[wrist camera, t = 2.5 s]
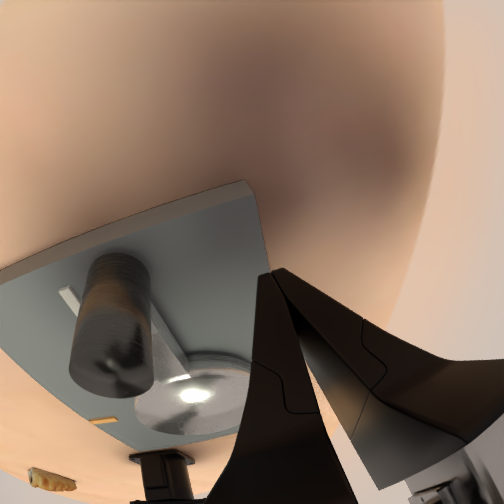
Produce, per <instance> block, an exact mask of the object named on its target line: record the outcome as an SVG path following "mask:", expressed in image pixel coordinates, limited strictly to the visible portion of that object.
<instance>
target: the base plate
mask: <svg viewBox="0 0 504 504" xmlns="http://www.w3.org/2000/svg"><path fill="white" fill-rule="evenodd" d="M108 253H124V254H128V255H131V256H133V257H135V258H137V259H138V260H139V261H141V262H142V263H143V264H144V265H145V266H146V268H147V269H148V271H149V274H150V278H151V301H152V302H153V304H154V306H155V308H156V309H157V311H158V313H159V314H160V316H161V318H162V319H163V321H164V323H165V324H166V326H167V327H168V329H169V331H170V332H171V334H172V335H173V337H174V339H175V340H176V342H177V343H178V345H179V346H180V348H181V349H182V351H183V352H184V354H185V355H186V356H191V355H204V354H213V355H224V356H230V357H234V358H238V359H241V360H243V361H245V362H247V363H249V364H250V365H251V361H252V360H251V358H252V345H253V332H254V318H255V305H256V291H257V278H258V276H259V275H261V274H264V273H267V272H270V269H269V264H268V259H267V254H266V249H265V244H264V239H263V234H262V229H261V224H260V219H259V214H258V209H257V204H256V199H255V194H254V193H253V191H252V190H251V188H250V187H249V185H248V184H247V182H246V181H245V180H242V181H238V182H235V183H231V184H228V185H224V186H221V187H218V188H214V189H211V190H208V191H204V192H201V193H198V194H195V195H192V196H188V197H185V198H182V199H179V200H176V201H173V202H170V203H167V204H164V205H161V206H158V207H155V208H152V209H149V210H146V211H144V212H141V213H138V214H135V215H132V216H130V217H127V218H124V219H121V220H119V221H116V222H113V223H111V224H108V225H105V226H103V227H100V228H97V229H95V230H92V231H90V232H87V233H85V234H82V235H80V236H77V237H75V238H72V239H70V240H67V241H65V242H63V243H60V244H58V245H55V246H53V247H51V248H48V249H46V250H44V251H42V252H39V253H37V254H35V255H33V256H30V257H28V258H26V259H24V260H21V261H19V262H17V263H15V264H13V265H11V266H9V267H6V268H4V269H2V270H0V348H1V349H2V350H3V351H4V352H5V353H6V354H7V355H8V356H9V357H10V358H11V359H12V360H14V361H15V362H16V363H17V364H18V365H19V366H20V367H21V368H22V369H23V370H24V371H25V372H26V373H27V374H29V375H30V376H31V377H32V378H33V379H34V380H35V381H37V382H38V383H39V384H40V385H41V386H43V387H44V388H45V389H46V390H47V391H49V392H50V393H51V394H52V395H54V396H55V397H56V398H57V399H59V400H60V401H61V402H63V403H64V404H65V405H67V406H68V407H69V408H71V409H72V410H73V411H75V412H76V413H78V414H79V415H80V416H82V417H83V418H85V419H86V420H88V421H89V422H91V423H92V424H94V425H95V426H97V427H98V428H100V429H101V430H103V431H105V432H106V433H108V434H109V435H111V436H113V437H114V438H116V439H118V440H119V441H121V442H123V443H125V444H126V445H128V446H130V447H132V448H133V449H135V450H137V451H139V452H141V451H149V450H156V449H162V448H169V447H174V446H180V445H185V444H191V443H195V442H200V441H205V440H209V439H214V438H218V437H222V436H226V435H230V434H234V433H238V431H239V427H240V425H237V426H235V427H232V428H229V429H226V430H223V431H219V432H215V433H209V434H202V435H173V434H167V433H162V432H158V431H155V430H152V429H150V428H148V427H146V426H145V425H143V424H142V423H141V422H140V421H139V420H138V419H137V417H136V415H135V401H134V397H132V398H123V399H117V398H107V397H102V396H98V395H95V394H93V393H90V392H88V391H86V390H84V389H83V388H81V387H80V386H78V385H77V384H76V383H75V382H74V381H73V379H72V378H71V376H70V374H69V362H70V355H71V349H72V343H73V337H74V332H75V327H76V322H77V317H78V312H79V307H80V303H81V299H82V294H83V290H84V286H85V282H86V278H87V275H88V271H89V268H90V266H91V264H92V263H93V262H94V261H95V260H96V259H97V258H98V257H100V256H102V255H104V254H108Z"/></svg>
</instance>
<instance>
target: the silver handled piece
mask: <svg viewBox="0 0 504 504" xmlns="http://www.w3.org/2000/svg"><path fill="white" fill-rule="evenodd" d="M250 369H251V365H250V364H249V363H247V362H245V361H243V360H241V359H238V358H234V357H230V356H224V355H213V354H204V355H191V356H186V355H185V354H184V352H183V351H182V349H181V348H180V346H179V345H178V343H177V342H176V340H175V339H174V337H173V335H172V334H171V332H170V331H169V329H168V327H167V326H166V324H165V323H164V321H163V319H162V318H161V316H160V314H159V313H158V311H157V309H156V308H155V306H154V304H153V302H152V301H151V278H150V274H149V271H148V269H147V268H146V266H145V265H144V264H143V263H142V262H141V261H139V260H138V259H137V258H135V257H133V256H131V255H128V254H124V253H108V254H104V255H102V256H100V257H98V258H97V259H96V260H95V261H94V262H93V263H92V264H91V266H90V268H89V271H88V275H87V278H86V282H85V286H84V290H83V294H82V299H81V303H80V307H79V312H78V317H77V322H76V327H75V332H74V337H73V343H72V349H71V355H70V362H69V374H70V376H71V378H72V379H73V381H74V382H75V383H76V384H77V385H78V386H80V387H81V388H83V389H84V390H86V391H88V392H90V393H93V394H95V395H98V396H102V397H107V398H117V399H123V398H132V397H134V401H135V415H136V417H137V419H138V420H139V421H140V422H141V423H142V424H143V425H145V426H146V427H148V428H150V429H152V430H155V431H158V432H162V433H167V434H173V435H202V434H209V433H215V432H219V431H223V430H226V429H229V428H232V427H235V426H237V425H240V423H241V419H242V415H243V411H244V406H245V402H246V397H247V392H248V387H249V378H250Z"/></svg>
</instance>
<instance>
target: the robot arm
mask: <svg viewBox="0 0 504 504" xmlns="http://www.w3.org/2000/svg"><path fill="white" fill-rule="evenodd" d="M304 359H305V360H304ZM251 360H252V361H251V369H250V378H249V387H248V392H247V397H246V402H245V406H244V411H243V415H242V419H241V423H240V427H239V431H238V435H237V439H236V442H235V446H234V449H233V452H232V454H231V457H230V459H229V461H228V463H227V465H226V467H225V468H224V470H223V472H222V473H221V475H220V477H219V478H218V480H217V482H216V483H215V485H214V487H213V488H212V490H211V491H210V493H209V495H208V496H207V498H203V499H194V496H193V492H192V488H191V483H190V479H189V474H188V469H187V465H192V464H195V460H193V459H191V458H190V457H188V456H186V455H184V454H183V453H181V452H179V451H178V450H170V451H164V452H157V453H150V454H142V455H133V456H129V460H131V461H133V462H135V463H137V464H139V465H141V472H142V480H143V486H144V491H145V497H146V501H140V500H135V501H131V502H130V504H358V502H357V499H356V497H355V495H354V492H353V490H352V488H351V486H350V483H349V481H348V479H347V477H346V474H345V472H344V470H343V468H342V465H341V463H340V461H339V459H338V456H337V454H336V452H335V450H334V448H333V445H332V443H331V441H330V438H329V436H328V434H327V431H326V428H325V425H324V423H323V419H322V416H321V414H320V409H319V406H318V403H317V399H316V396H315V393H314V389H313V386H312V383H311V379H310V376H309V373H308V369H307V366H306V363H307V364H308V366H309V368H310V370H311V372H312V373H313V375H314V377H315V379H316V381H317V382H318V384H319V386H320V388H321V389H322V391H323V393H324V395H325V397H326V398H327V400H328V402H329V404H330V405H331V407H332V409H333V411H334V413H335V414H336V416H337V418H338V420H339V421H340V423H341V425H342V427H343V429H344V430H345V432H346V433H347V435H348V437H349V439H350V440H351V443H352V444H353V446H354V448H355V450H356V451H357V453H358V455H359V457H360V459H361V460H362V462H363V464H364V466H365V467H366V469H367V471H368V473H369V474H370V476H371V478H372V480H373V481H374V483H375V485H376V487H377V488H378V490H381V489H384V488H386V487H389V486H391V485H393V484H396V483H398V482H400V481H402V480H405V482H406V484H407V486H408V488H409V490H410V492H411V494H412V496H411V497H410V498H408V500H409V502H410V504H504V359H496V360H473V361H472V360H471V361H454V360H447V359H443V358H440V357H438V356H435V355H433V354H431V353H429V352H427V351H424V350H422V349H420V348H418V347H416V346H414V345H412V344H409V343H408V342H405V341H403V340H401V339H399V338H398V337H396V336H394V335H392V334H390V333H388V332H386V331H384V330H383V329H381V328H379V327H378V326H376V325H374V324H373V323H371V322H369V321H368V320H366V319H363V317H361V316H360V315H358V314H356V313H355V312H353V311H352V310H350V309H349V308H347V307H345V306H344V305H342V304H341V303H339V302H337V301H336V300H334V299H333V298H331V297H329V296H328V295H326V294H325V293H323V292H322V291H320V290H318V289H317V288H315V287H314V286H312V285H310V284H309V283H307V282H306V281H304V280H302V279H301V278H299V277H298V276H296V275H294V274H293V273H291V272H290V271H288V270H286V269H285V268H279V269H276V270H273V271H272V272H271V273H270V272H267V273H264V274H261V275H259V276H258V278H257V291H256V305H255V318H254V332H253V345H252V358H251ZM305 361H306V363H305Z"/></svg>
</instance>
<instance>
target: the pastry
mask: <svg viewBox="0 0 504 504" xmlns="http://www.w3.org/2000/svg"><path fill="white" fill-rule="evenodd" d="M28 475H29V481H30V484H31V486H32V487H35V488H36V487H39V488H42V489H45V490H47V491H55V492H57V491H64V490H65V491H73V490H75V489H77V487H76V484H75V482H74V481H73V480H71V479H68V478H65V477H62V476H60V475H57V474H53V473H50V472H47V471H44V470H41V469H37V468H31V470H30V471H29V472H28Z"/></svg>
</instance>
